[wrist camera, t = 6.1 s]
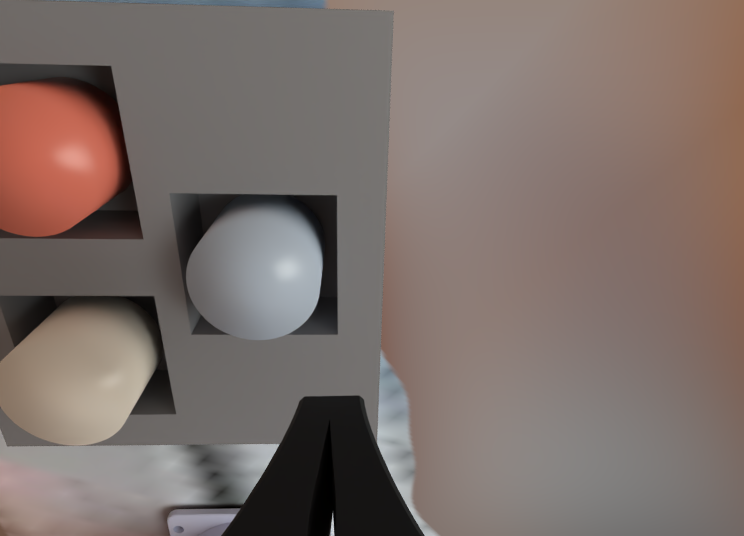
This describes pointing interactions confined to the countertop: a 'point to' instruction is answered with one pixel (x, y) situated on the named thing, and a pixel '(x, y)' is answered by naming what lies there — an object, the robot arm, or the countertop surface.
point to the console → (215, 197)
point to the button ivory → (81, 370)
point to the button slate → (258, 267)
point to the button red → (58, 154)
